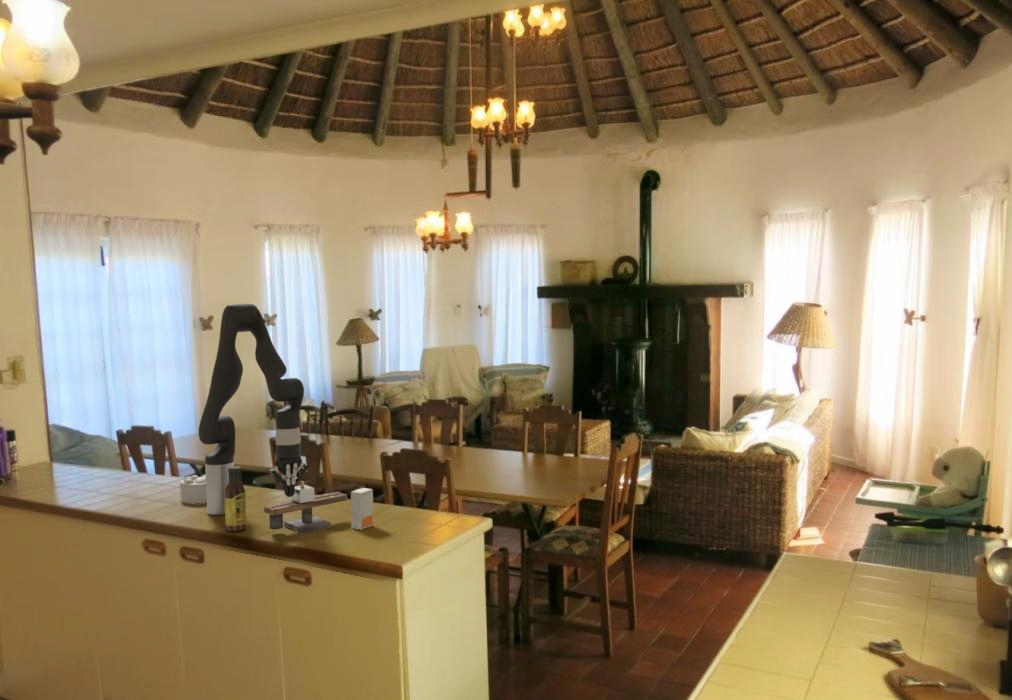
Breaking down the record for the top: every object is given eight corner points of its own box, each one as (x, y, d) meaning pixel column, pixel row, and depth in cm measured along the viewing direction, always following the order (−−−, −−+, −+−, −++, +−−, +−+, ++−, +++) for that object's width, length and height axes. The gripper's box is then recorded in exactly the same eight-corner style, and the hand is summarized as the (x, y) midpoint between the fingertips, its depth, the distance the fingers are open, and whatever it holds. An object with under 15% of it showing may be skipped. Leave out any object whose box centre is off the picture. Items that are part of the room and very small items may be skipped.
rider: (290, 505, 243) (290, 481, 243) (305, 502, 247) (304, 478, 246) (300, 508, 238) (299, 484, 238) (314, 505, 242) (314, 481, 241)
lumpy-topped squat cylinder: (198, 505, 273) (197, 481, 272) (173, 501, 278) (172, 478, 278) (221, 498, 282) (220, 475, 281) (195, 494, 288) (195, 472, 287)
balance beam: (260, 531, 239) (259, 504, 239) (333, 515, 257) (332, 489, 257) (278, 539, 231) (277, 511, 230) (352, 522, 248) (351, 496, 248)
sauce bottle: (239, 532, 238) (237, 470, 237) (221, 531, 240) (219, 469, 238) (250, 526, 245) (248, 465, 244) (232, 525, 246) (230, 465, 245)
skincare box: (361, 530, 239) (360, 493, 238) (351, 528, 241) (350, 491, 241) (374, 525, 244) (373, 489, 244) (364, 523, 246) (363, 487, 246)
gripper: (301, 437, 245) (303, 490, 246) (262, 443, 237) (264, 497, 238) (313, 440, 240) (314, 494, 241) (273, 446, 231) (275, 502, 232)
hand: (289, 496), depth 239 cm, fingers closed
